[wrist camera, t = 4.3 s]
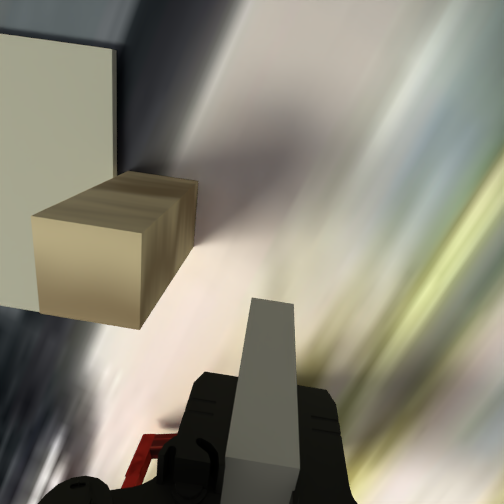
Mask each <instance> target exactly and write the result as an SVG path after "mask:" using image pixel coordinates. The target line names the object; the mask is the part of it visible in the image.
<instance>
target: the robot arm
mask: <svg viewBox="0 0 504 504" xmlns="http://www.w3.org/2000/svg"><path fill="white" fill-rule="evenodd" d="M340 434H341V432H340V426H339V423H338V414H337V408H336V404H335V402H334V401H333V399H332V398H331V396H330V394H329V393H328V391H327V390H324V389H318V388H312V387H305V386H299V385H297V378H296V352H295V327H294V304H290V303H283V302H277V301H270V300H264V299H258V298H252V299H251V305H250V311H249V317H248V323H247V329H246V335H245V341H244V347H243V353H242V359H241V365H240V371H239V377H235V376H229V375H223V374H217V373H210V372H204V373H203V374H202V375H201V376H200V377H199V378H198V379H197V380H196V381H195V382H194V384H193V387H192V390H191V393H190V396H189V400H188V402H187V406H186V409H185V412H184V415H183V418H182V421H181V424H180V427H179V431H178V434H177V436H174V437H173V438H171V439H170V440H169V441H167V442H166V443H165V444H164V445H163V447H162V448H161V450H160V452H159V453H158V462H157V476H156V477H154V478H153V479H152V480H150V481H148V482H146V483H144V484H141V485H137V486H134V487H128V488H122V489H115V490H109V487H108V485H107V484H105V483H104V482H103V481H101V480H100V479H99V478H94V477H90V476H81V477H74V478H71V479H68V480H66V481H64V482H62V483H60V484H58V485H57V486H55V487H54V488H53V489H52V490H51V491H50V492H48V493H47V494H46V495H45V496H44V497H43V498H42V500H41V501H40V502H39V503H38V504H357V502H356V501H355V500H354V498H353V496H352V494H351V490H350V487H349V481H348V475H347V469H346V463H345V457H344V450H343V444H342V438H341V436H340Z"/></svg>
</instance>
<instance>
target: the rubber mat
mask: <svg viewBox="0 0 504 504" xmlns="http://www.w3.org/2000/svg"><path fill="white" fill-rule="evenodd" d="M116 176H117V63H116V50H113V49H107V48H100V47H93V46H86V45H79V44H71V43H64V42H57V41H50V40H43V39H35V38H28V37H21V36H14V35H7V34H0V305H1V306H7V307H13V308H19V309H25V310H31V311H37V312H40V311H39V300H38V290H37V279H36V268H35V257H34V247H33V236H32V225H31V216H32V215H34V214H36V213H38V212H40V211H42V210H45V209H47V208H49V207H51V206H53V205H55V204H58V203H60V202H62V201H64V200H66V199H68V198H71V197H73V196H75V195H77V194H79V193H81V192H84V191H86V190H88V189H90V188H92V187H94V186H97V185H99V184H101V183H103V182H105V181H107V180H110V179H112V178H114V177H116Z"/></svg>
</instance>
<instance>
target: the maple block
mask: <svg viewBox="0 0 504 504" xmlns="http://www.w3.org/2000/svg"><path fill="white" fill-rule="evenodd" d="M197 194H198V181H194V180H187V179H180V178H174V177H167V176H160V175H154V174H147V173H141V172H134V171H127V172H125V173H123V174H120V175H118V176H116V177H114V178H112V179H110V180H107V181H105V182H103V183H101V184H99V185H97V186H94V187H92V188H90V189H88V190H86V191H84V192H81V193H79V194H77V195H75V196H73V197H71V198H68V199H66V200H64V201H62V202H60V203H58V204H55V205H53V206H51V207H49V208H47V209H45V210H42V211H40V212H38V213H36V214H34V215H32V216H31V225H32V236H33V247H34V257H35V268H36V279H37V290H38V300H39V311H40V313H41V314H47V315H53V316H59V317H65V318H71V319H77V320H83V321H89V322H95V323H101V324H107V325H113V326H119V327H125V328H131V329H137V330H140V329H141V327H142V325H143V324H144V322H145V321H146V319H147V318H148V316H149V315H150V313H151V312H152V310H153V309H154V307H155V305H156V304H157V302H158V301H159V299H160V298H161V296H162V295H163V293H164V292H165V290H166V288H167V287H168V285H169V284H170V282H171V281H172V279H173V278H174V276H175V275H176V273H177V272H178V270H179V268H180V267H181V265H182V264H183V262H184V261H185V259H186V258H187V256H188V255H189V253H190V251H191V250H192V248H193V245H194V232H195V219H196V207H197Z"/></svg>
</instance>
